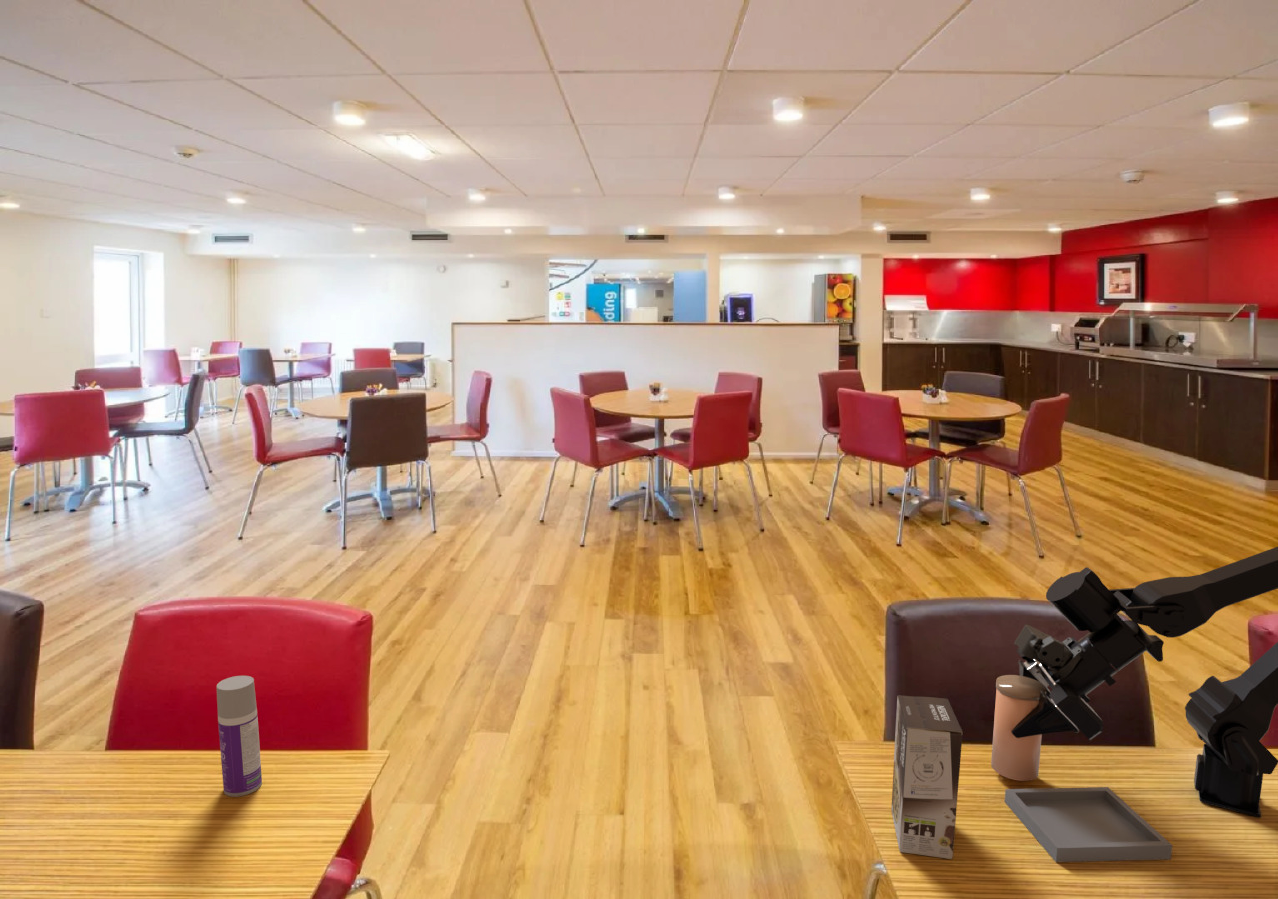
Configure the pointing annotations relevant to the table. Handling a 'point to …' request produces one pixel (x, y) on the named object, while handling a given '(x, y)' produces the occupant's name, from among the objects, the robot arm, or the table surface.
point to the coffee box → (926, 775)
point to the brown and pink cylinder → (1010, 708)
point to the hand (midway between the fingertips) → (1007, 723)
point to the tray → (1086, 825)
